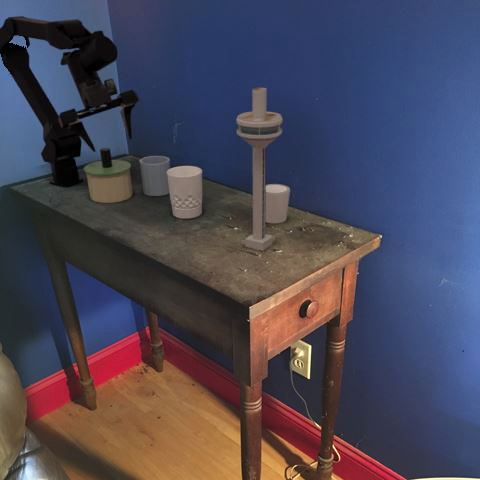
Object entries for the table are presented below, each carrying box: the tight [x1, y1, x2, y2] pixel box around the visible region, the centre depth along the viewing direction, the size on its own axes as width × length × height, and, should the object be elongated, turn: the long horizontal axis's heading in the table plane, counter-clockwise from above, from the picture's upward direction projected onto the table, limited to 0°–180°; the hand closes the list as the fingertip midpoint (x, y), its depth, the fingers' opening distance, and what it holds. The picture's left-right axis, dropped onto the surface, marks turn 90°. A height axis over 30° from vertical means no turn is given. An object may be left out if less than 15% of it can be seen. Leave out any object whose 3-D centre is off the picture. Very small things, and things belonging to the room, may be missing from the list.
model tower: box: [235, 87, 283, 252], centre depth 107 cm, size 8×8×30 cm
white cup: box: [167, 165, 203, 220], centre depth 128 cm, size 8×8×10 cm
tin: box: [85, 169, 133, 204], centre depth 140 cm, size 10×10×7 cm
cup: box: [138, 155, 172, 197], centre depth 142 cm, size 7×7×8 cm
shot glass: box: [265, 183, 291, 224], centre depth 125 cm, size 7×7×7 cm
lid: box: [83, 147, 132, 176], centre depth 137 cm, size 11×11×5 cm
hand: (113, 145), depth 134 cm, fingers open, 9 cm apart
